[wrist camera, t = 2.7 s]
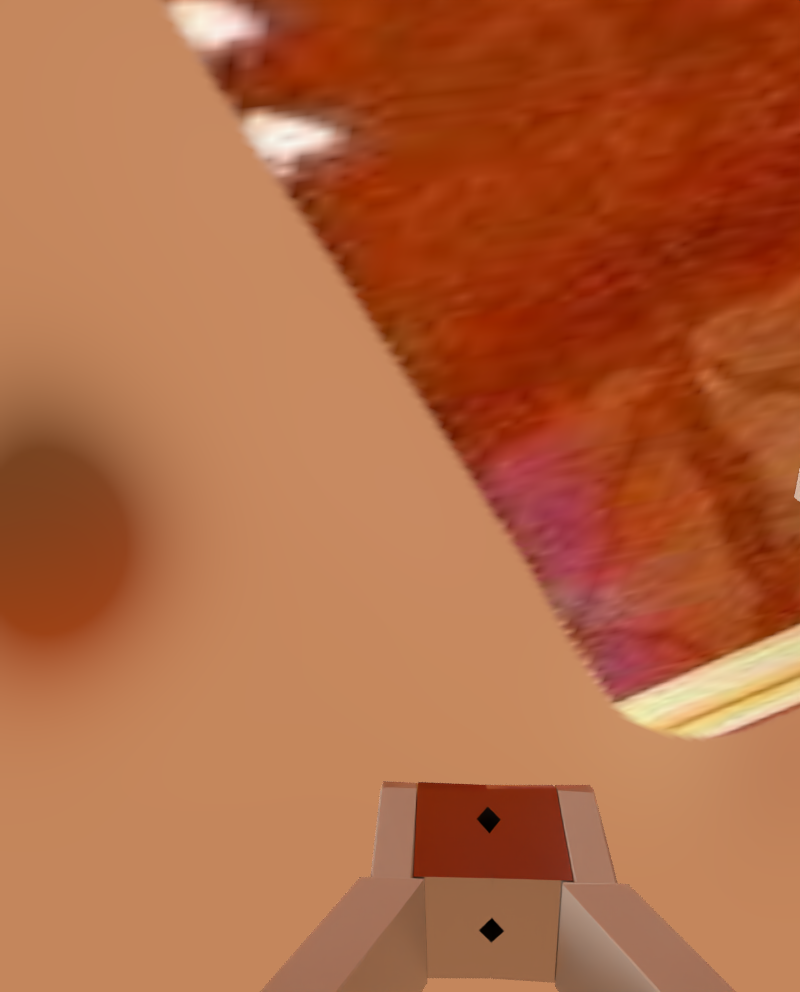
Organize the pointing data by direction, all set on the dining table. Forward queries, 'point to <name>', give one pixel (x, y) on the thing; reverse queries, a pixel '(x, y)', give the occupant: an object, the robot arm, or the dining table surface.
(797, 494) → the mat
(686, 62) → the dining table surface
